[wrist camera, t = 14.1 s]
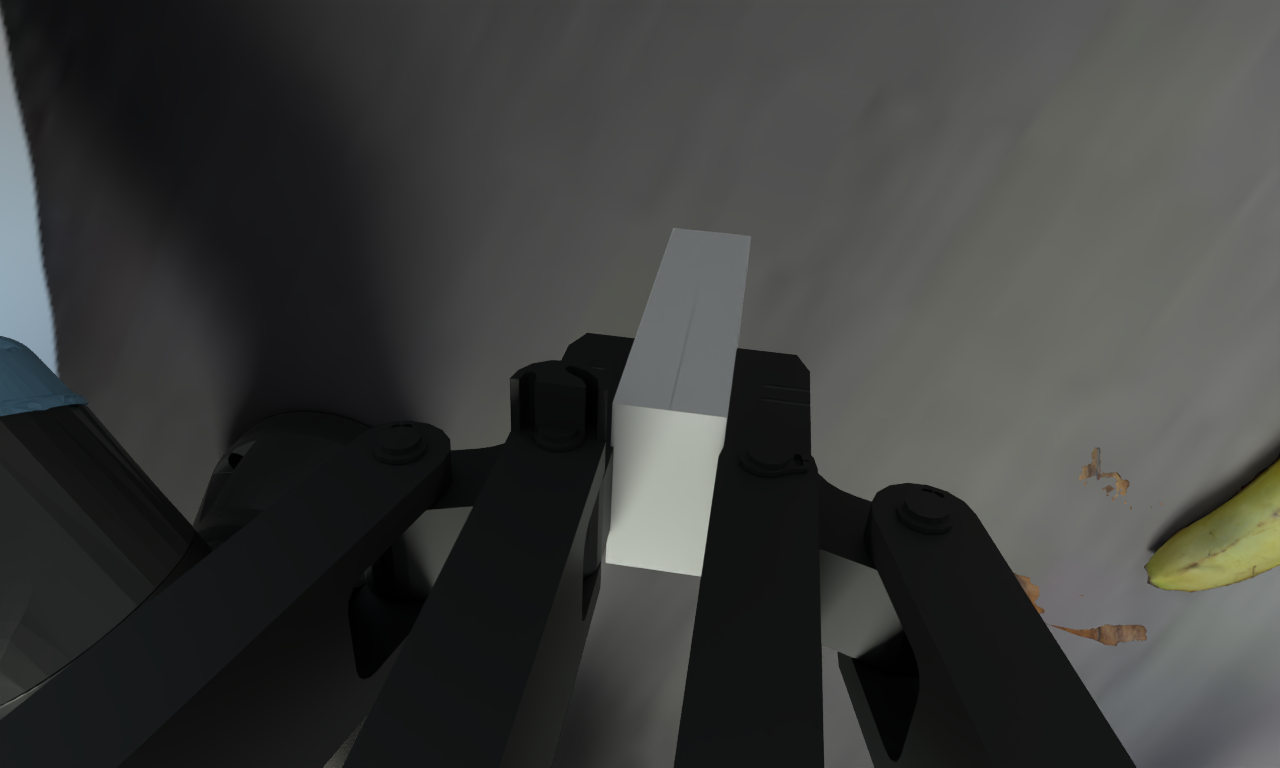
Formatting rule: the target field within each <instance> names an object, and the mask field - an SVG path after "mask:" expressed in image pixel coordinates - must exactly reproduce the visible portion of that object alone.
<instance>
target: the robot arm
mask: <svg viewBox="0 0 1280 768" xmlns="http://www.w3.org/2000/svg"><path fill="white" fill-rule="evenodd" d="M750 242H751V236H746V235H736V234H726V233H717V232H707V231H697V230H687V229H678V228H673V230H672V233H671V236H670V239H669V241H668V244H667V247H666V250H665V253H664V256H663V259H662V262H661V265H660V267H659V270H658V273H657V276H656V279H655V282H654V285H653V288H652V291H651V293H650V296H649V299H648V302H647V305H646V308H645V311H644V314H643V317H642V319H641V322H640V325H639V328H638V331H637V334H636V337H635V338H627V337H618V336H610V335H601V334H592V333H586V334H585V335H583V336H582V337H580V338H579V339H578V340H576V341H575V342H573V343H572V344H570V345H569V346H568V348H567V350H566V352H565V354H564V356H563V358H562V360H561V361H557V360H550V361H544V362H538V363H533V364H531V365H528V366H526V367H524V368H522V369H519V370H518V371H517V372H516V373H515V374H514V375H513V376H512V377H511V378H510V401H511V432H510V434H509V436H508V438H507V440H506V442H505V443H504V444H500V445H497V446H493V447H487V448H480V449H467V450H453V451H451V447H450V439H449V438H448V436H447V435H446V434H445V433H444V432H443V430H441V429H439V428H437V427H434V426H432V425H430V424H427V423H420V422H414V421H403V422H401V421H398V422H391V423H387V424H384V425H380V426H376V427H373V428H370V427H367V426H365V425H363V424H361V423H358V422H356V421H353V420H350V419H347V418H344V417H340V416H337V415H332V414H327V413H320V412H303V411H302V412H289V413H283V414H279V415H275V416H272V417H269V418H267V419H264V420H262V421H260V422H258V423H257V424H255V425H254V426H252V427H251V428H250V429H248V430H247V431H246V432H245V433H244V434H243V435H242V436H241V437H240V438H239V439H238V440H237V441H236V442H235V443H234V444H233V445H232V446H231V447H230V448H229V449H228V450H227V451H226V452H225V454H224V455H223V456H222V458H221V459H220V461H219V462H218V464H217V465H216V467H215V469H214V471H213V474H212V476H211V479H210V482H209V484H208V487H207V489H206V492H205V495H204V497H203V500H202V503H201V505H200V508H199V510H198V513H197V516H196V518H195V521H194V523H193V526H192V525H191V524H190V523H189V522H188V521H187V520H186V518H185V517H184V516H183V515H182V514H181V513H180V512H179V511H178V509H177V508H176V507H175V506H174V505H173V504H172V503H171V502H170V501H169V499H168V498H167V497H166V496H165V495H164V494H163V493H162V492H161V491H160V489H159V488H158V487H157V486H156V485H155V484H154V483H153V482H152V480H151V479H150V478H149V477H148V476H147V475H146V474H145V472H144V471H143V470H142V469H141V468H140V467H139V465H138V464H137V463H136V462H135V461H134V460H133V459H132V457H131V456H130V455H129V454H128V453H127V452H126V450H125V449H124V448H123V447H122V446H121V445H120V444H119V442H118V441H117V440H116V439H115V438H114V437H113V435H112V434H111V433H110V432H109V431H108V430H107V429H106V427H105V426H104V425H103V424H102V423H101V422H100V420H99V419H98V418H97V417H96V416H95V415H94V414H93V412H92V411H91V410H90V409H89V408H88V407H87V405H88V403H89V402H88V401H87V400H86V399H85V398H84V397H83V396H82V395H79V394H75V393H73V392H72V391H71V390H70V389H69V388H68V387H67V386H66V385H65V384H64V383H63V382H62V381H61V380H60V379H59V378H58V377H57V376H56V375H55V374H54V373H53V372H52V371H51V370H50V369H49V368H48V367H47V366H46V365H45V364H44V363H43V362H42V361H41V360H40V359H39V358H38V357H37V355H35V354H34V353H33V352H32V351H31V350H30V349H29V348H28V347H26V346H25V345H23V344H22V343H19V342H17V341H15V340H13V339H10V338H6V337H2V336H0V768H323V767H324V765H325V764H326V763H327V762H328V761H329V759H330V758H331V757H332V756H333V755H334V753H335V752H336V751H337V750H338V749H339V747H340V746H341V745H342V744H343V743H344V741H345V740H346V739H347V738H348V737H349V735H350V734H351V733H352V732H353V731H354V729H355V728H356V727H357V726H358V725H359V723H360V722H361V721H362V720H363V719H364V717H365V716H366V715H367V714H368V713H369V711H370V710H371V711H370V713H369V715H368V717H367V719H366V721H365V723H364V725H363V727H362V729H361V731H360V733H359V735H358V737H357V739H356V741H355V743H354V745H353V747H352V749H351V751H350V753H349V755H348V757H347V759H346V761H345V763H344V765H343V767H342V768H551V767H552V763H553V760H554V756H555V752H556V749H557V745H558V741H559V738H560V734H561V730H562V727H563V723H564V719H565V716H566V712H567V708H568V705H569V701H570V697H571V693H572V690H573V686H574V682H575V679H576V675H577V671H578V668H579V664H580V660H581V657H582V653H583V649H584V646H585V642H586V638H587V635H588V631H589V627H590V623H591V620H592V616H593V612H594V609H595V605H596V601H597V598H598V594H599V590H600V580H601V560H602V556H603V553H604V549H605V546H606V542H607V546H606V563H611V564H618V565H625V566H632V567H639V568H646V569H653V570H660V571H667V572H674V573H681V574H688V575H695V576H701V581H700V588H699V595H698V602H697V609H696V616H695V623H694V630H693V637H692V644H691V651H690V658H689V665H688V672H687V679H686V685H685V692H684V699H683V706H682V713H681V720H680V727H679V734H678V741H677V748H676V755H675V762H674V768H824V740H823V693H822V647H821V645H824V646H826V647H828V648H831V649H833V650H836V651H838V662H839V668H840V671H841V673H842V676H843V679H844V682H845V685H846V688H847V691H848V693H849V696H850V699H851V702H852V705H853V708H854V711H855V713H856V716H857V719H858V722H859V725H860V728H861V731H862V733H863V736H864V739H865V742H866V745H867V748H868V750H869V753H870V756H871V759H872V762H873V765H874V768H1136V766H1135V764H1134V763H1133V761H1132V760H1131V758H1130V756H1129V755H1128V753H1127V752H1126V750H1125V749H1124V747H1123V745H1122V744H1121V742H1120V741H1119V739H1118V738H1117V736H1116V734H1115V733H1114V731H1113V730H1112V728H1111V726H1110V725H1109V723H1108V722H1107V720H1106V719H1105V717H1104V715H1103V714H1102V712H1101V711H1100V709H1099V708H1098V706H1097V704H1096V703H1095V701H1094V700H1093V698H1092V697H1091V695H1090V693H1089V692H1088V690H1087V689H1086V687H1085V685H1084V684H1083V682H1082V681H1081V679H1080V678H1079V676H1078V674H1077V673H1076V671H1075V670H1074V668H1073V667H1072V665H1071V663H1070V662H1069V660H1068V659H1067V657H1066V655H1065V654H1064V652H1063V651H1062V649H1061V648H1060V646H1059V644H1058V643H1057V641H1056V640H1055V638H1054V637H1053V635H1052V633H1051V632H1050V630H1049V629H1048V627H1047V626H1046V624H1045V622H1044V621H1043V619H1042V618H1041V616H1040V614H1039V613H1038V611H1037V610H1036V608H1035V607H1034V605H1033V603H1032V602H1031V600H1030V599H1029V597H1028V596H1027V594H1026V592H1025V591H1024V589H1023V588H1022V586H1021V585H1020V583H1019V581H1018V580H1017V578H1016V577H1015V575H1014V573H1013V572H1012V570H1011V569H1010V567H1009V566H1008V564H1007V562H1006V561H1005V559H1004V558H1003V556H1002V555H1001V553H1000V551H999V550H998V548H997V547H996V545H995V543H994V542H993V540H992V539H991V537H990V536H989V534H988V532H987V531H986V529H985V528H984V526H983V525H982V523H981V521H980V520H979V518H978V517H977V515H976V514H975V513H974V512H973V511H972V510H971V508H970V507H969V506H968V505H967V504H966V503H965V502H964V501H962V500H960V499H959V498H957V497H955V496H954V495H952V494H950V493H949V492H947V491H944V490H941V489H938V488H935V487H931V486H928V485H921V484H912V483H904V484H897V485H890V486H888V487H886V488H884V489H882V490H881V491H879V492H877V493H876V495H875V497H874V499H873V501H872V502H871V501H868V500H865V499H862V498H859V497H856V496H853V495H851V494H849V493H846V492H844V491H842V490H839V489H838V488H836V487H835V486H833V485H831V484H830V483H828V482H827V481H826V480H825V479H824V478H823V477H822V476H821V475H819V474H818V469H817V466H816V463H815V460H814V458H813V457H812V456H811V420H810V371H809V370H808V369H807V368H806V366H805V365H804V364H803V362H802V361H801V360H800V359H799V357H798V356H797V355H792V354H783V353H775V352H766V351H757V350H749V349H740V348H738V342H739V334H740V325H741V317H742V309H743V300H744V292H745V283H746V275H747V267H748V258H749V250H750Z"/></svg>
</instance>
